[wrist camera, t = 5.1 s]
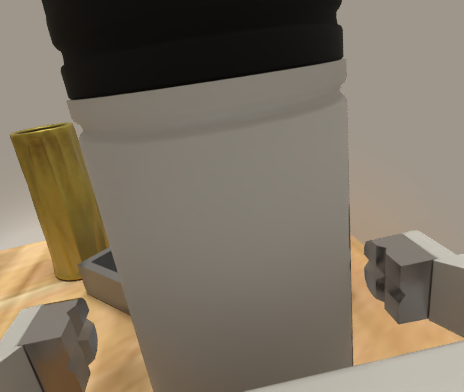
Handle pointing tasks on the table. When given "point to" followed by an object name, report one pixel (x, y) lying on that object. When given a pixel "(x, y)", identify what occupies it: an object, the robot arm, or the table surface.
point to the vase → (61, 195)
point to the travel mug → (218, 180)
